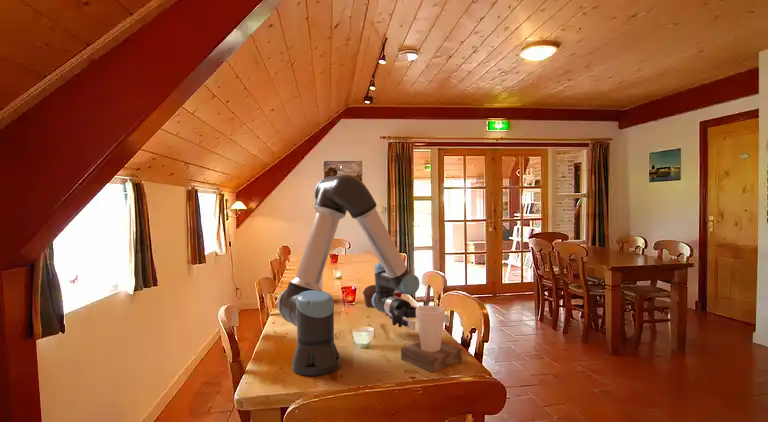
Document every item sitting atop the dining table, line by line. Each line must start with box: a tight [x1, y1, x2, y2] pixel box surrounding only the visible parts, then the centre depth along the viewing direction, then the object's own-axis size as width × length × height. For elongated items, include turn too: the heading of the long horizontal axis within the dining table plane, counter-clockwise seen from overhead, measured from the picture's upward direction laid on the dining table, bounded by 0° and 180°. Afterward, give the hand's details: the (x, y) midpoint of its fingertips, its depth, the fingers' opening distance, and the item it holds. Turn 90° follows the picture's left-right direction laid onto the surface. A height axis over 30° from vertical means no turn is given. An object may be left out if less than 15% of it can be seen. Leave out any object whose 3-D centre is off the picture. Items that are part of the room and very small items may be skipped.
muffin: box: [362, 284, 376, 309], centre depth 214 cm, size 12×11×10 cm
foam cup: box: [415, 305, 446, 352], centre depth 141 cm, size 10×9×13 cm
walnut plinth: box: [400, 341, 463, 373], centre depth 141 cm, size 14×14×4 cm
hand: (431, 322), depth 141 cm, fingers open, 13 cm apart
